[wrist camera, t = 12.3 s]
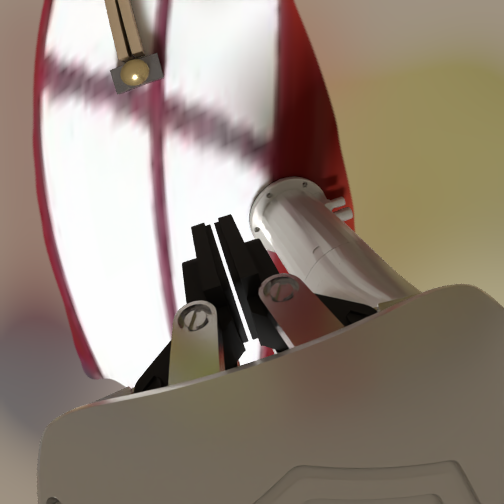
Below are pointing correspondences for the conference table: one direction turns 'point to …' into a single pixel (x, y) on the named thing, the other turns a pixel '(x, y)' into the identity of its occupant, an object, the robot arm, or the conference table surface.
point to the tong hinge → (153, 76)
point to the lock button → (134, 72)
